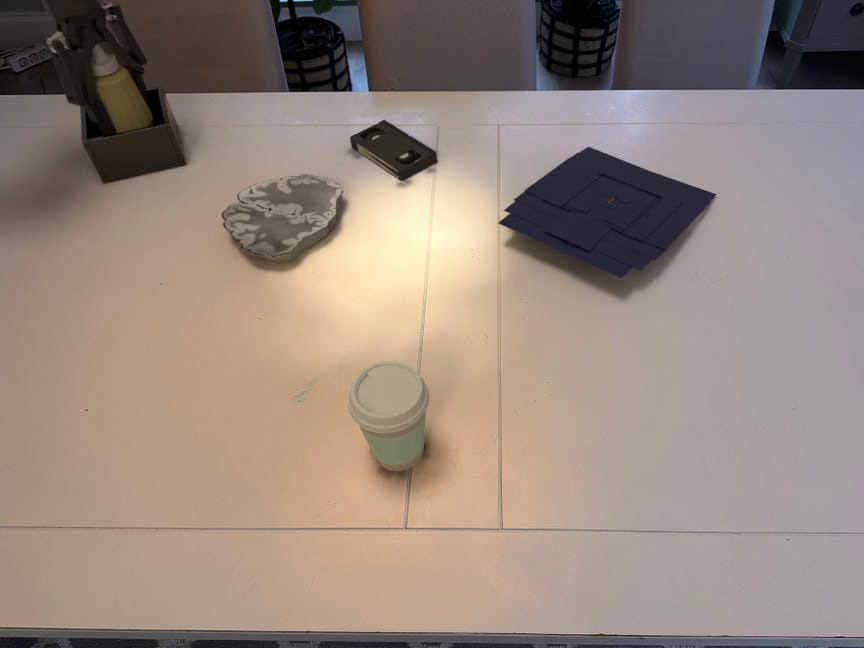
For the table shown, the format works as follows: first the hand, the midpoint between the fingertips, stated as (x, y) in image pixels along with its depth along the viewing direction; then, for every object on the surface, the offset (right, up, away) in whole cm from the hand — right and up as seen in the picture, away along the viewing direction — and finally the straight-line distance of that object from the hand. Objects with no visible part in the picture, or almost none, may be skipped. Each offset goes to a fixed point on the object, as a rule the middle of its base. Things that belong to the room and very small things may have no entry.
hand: (128, 123), depth 114 cm
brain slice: (+29, -19, -9) cm, 36 cm away
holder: (0, -4, +4) cm, 6 cm away
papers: (+79, -18, -9) cm, 82 cm away
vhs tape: (+45, -4, +3) cm, 45 cm away
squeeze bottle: (0, -2, +3) cm, 3 cm away
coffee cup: (+50, -51, -35) cm, 80 cm away
